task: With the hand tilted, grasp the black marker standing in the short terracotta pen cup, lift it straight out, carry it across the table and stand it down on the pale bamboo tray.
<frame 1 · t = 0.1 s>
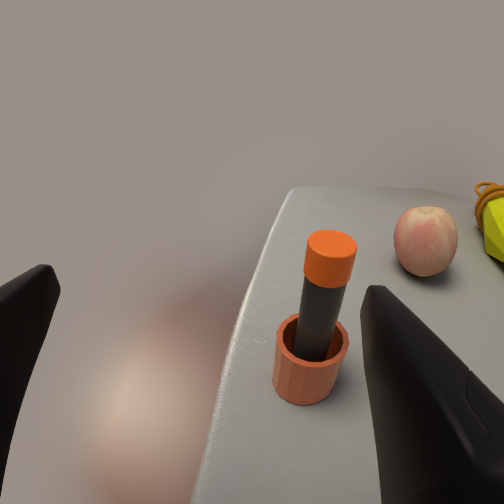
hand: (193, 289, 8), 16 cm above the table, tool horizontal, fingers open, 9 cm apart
marker: (304, 375, 23), point 1 cm above the table, touching pen cup
pen cup: (303, 379, 23), on the table, touching marker
apple: (415, 270, 35), on the table
plumb bob: (492, 243, 40), on the table
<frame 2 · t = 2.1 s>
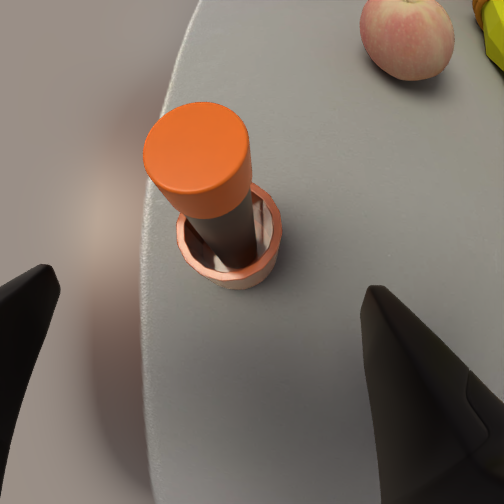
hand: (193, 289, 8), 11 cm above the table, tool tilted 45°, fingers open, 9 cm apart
marker: (236, 248, 19), point 1 cm above the table, touching pen cup
pen cup: (237, 250, 19), on the table, touching marker
apple: (393, 66, 22), on the table
plumb bob: (494, 44, 23), on the table
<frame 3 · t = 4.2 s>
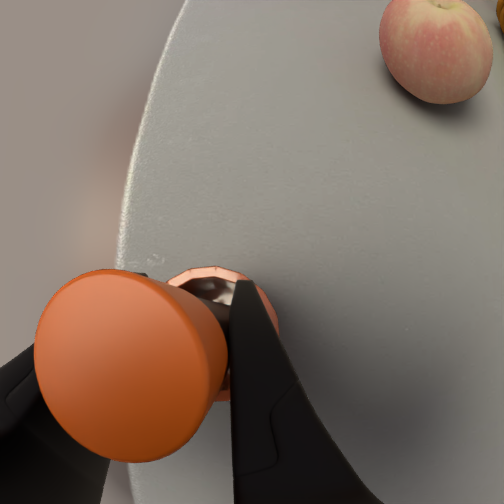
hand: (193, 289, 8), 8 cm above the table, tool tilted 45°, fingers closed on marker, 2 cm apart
marker: (224, 329, 15), point 1 cm above the table, touching gripper, pen cup
pen cup: (226, 328, 16), on the table, touching marker
apple: (415, 83, 19), on the table
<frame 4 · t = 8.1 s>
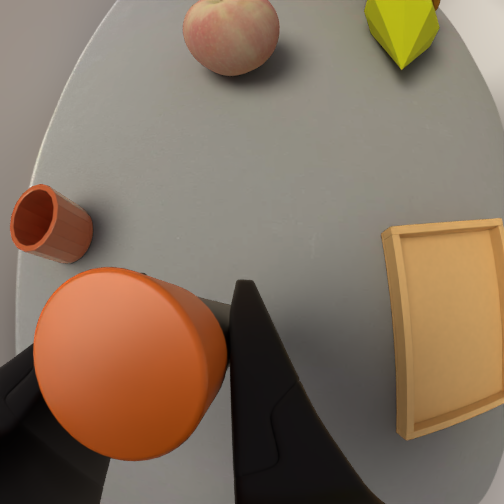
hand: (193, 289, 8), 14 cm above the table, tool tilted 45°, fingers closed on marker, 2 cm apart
tray: (454, 323, 21), on the table
marker: (224, 328, 15), point 6 cm above the table, touching gripper
pen cup: (69, 234, 23), on the table
apple: (235, 63, 26), on the table
plumb bob: (391, 22, 27), on the table
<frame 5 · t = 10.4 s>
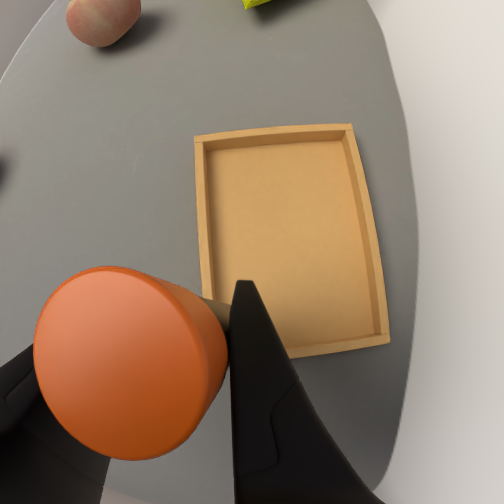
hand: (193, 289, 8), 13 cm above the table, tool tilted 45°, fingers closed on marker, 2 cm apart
tray: (287, 239, 21), on the table
marker: (225, 328, 15), point 5 cm above the table, touching gripper
apple: (116, 37, 27), on the table
when the fingers open (8 cm above the table, at t = 12.0 s): marker stays where it is, resting on tray.
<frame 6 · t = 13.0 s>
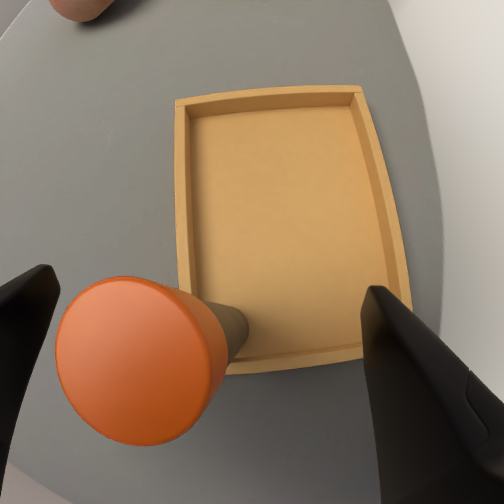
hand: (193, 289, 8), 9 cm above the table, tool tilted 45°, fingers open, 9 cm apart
tray: (286, 219, 17), on the table
marker: (225, 329, 16), resting on tray
apple: (101, 12, 23), on the table
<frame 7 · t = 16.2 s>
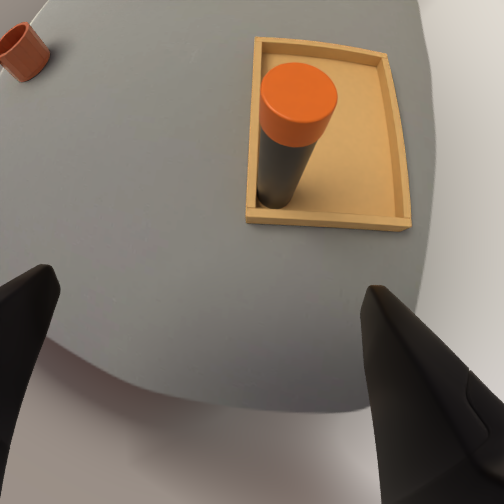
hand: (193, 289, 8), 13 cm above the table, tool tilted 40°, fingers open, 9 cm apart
tray: (325, 129, 22), on the table
marker: (274, 192, 21), resting on tray
pen cup: (32, 64, 23), on the table
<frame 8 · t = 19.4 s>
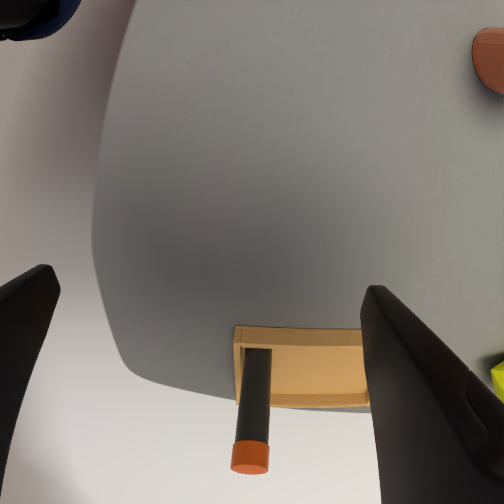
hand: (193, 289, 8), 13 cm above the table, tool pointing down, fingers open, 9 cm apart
tray: (312, 365, 30), on the table
marker: (259, 344, 28), resting on tray
pen cup: (497, 60, 13), on the table
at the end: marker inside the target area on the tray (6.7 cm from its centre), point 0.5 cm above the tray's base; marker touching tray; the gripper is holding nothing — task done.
